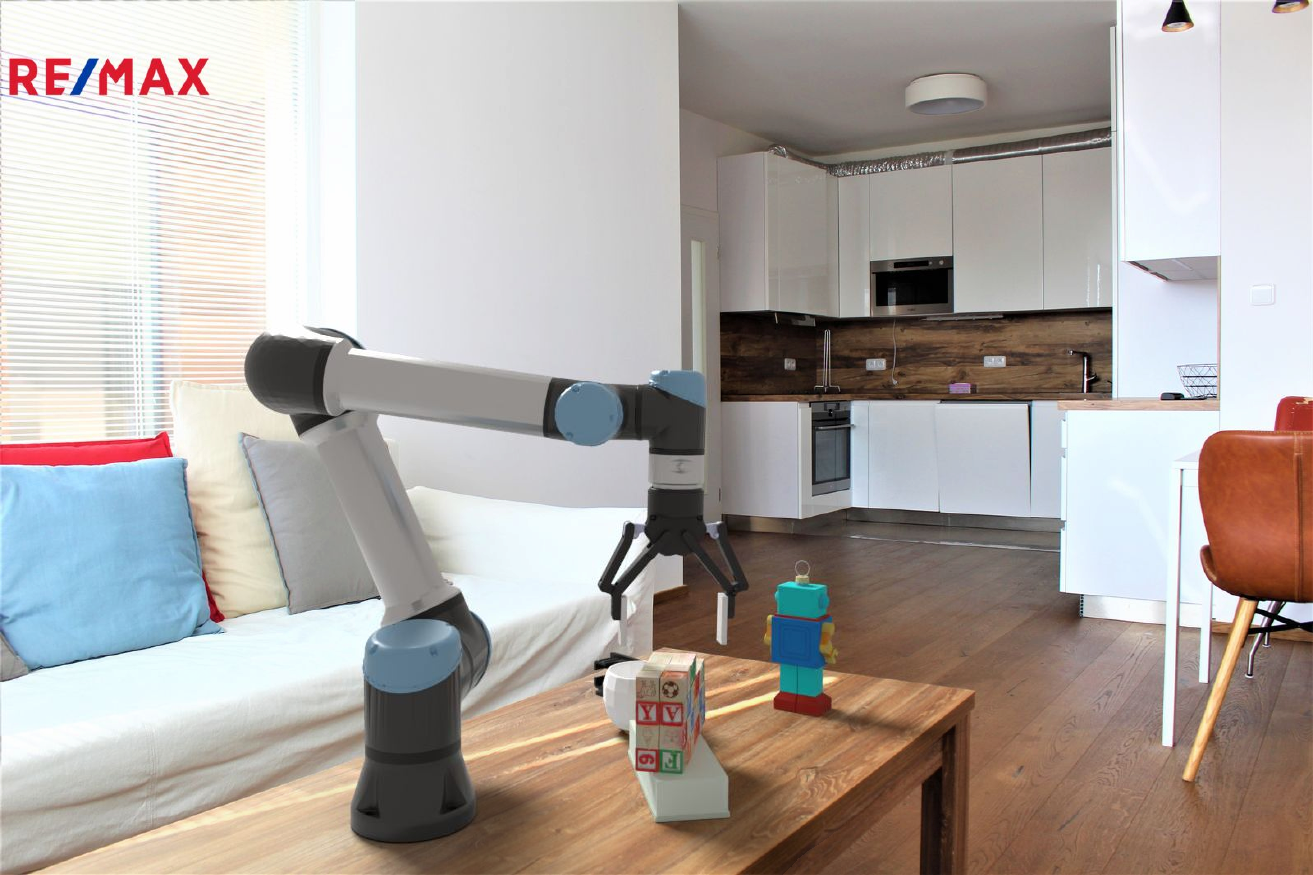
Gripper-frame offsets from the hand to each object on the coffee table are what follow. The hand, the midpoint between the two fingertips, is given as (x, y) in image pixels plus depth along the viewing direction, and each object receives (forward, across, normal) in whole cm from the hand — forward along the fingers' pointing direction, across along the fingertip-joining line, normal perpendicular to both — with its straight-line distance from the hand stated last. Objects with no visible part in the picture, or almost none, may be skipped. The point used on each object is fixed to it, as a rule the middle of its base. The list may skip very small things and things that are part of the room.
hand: (672, 643), depth 139 cm
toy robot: (+19, +28, +29) cm, 44 cm away
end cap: (+20, 0, +41) cm, 45 cm away
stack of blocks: (+14, 0, +1) cm, 14 cm away
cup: (+19, 0, +22) cm, 29 cm away
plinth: (+19, +1, 0) cm, 19 cm away
